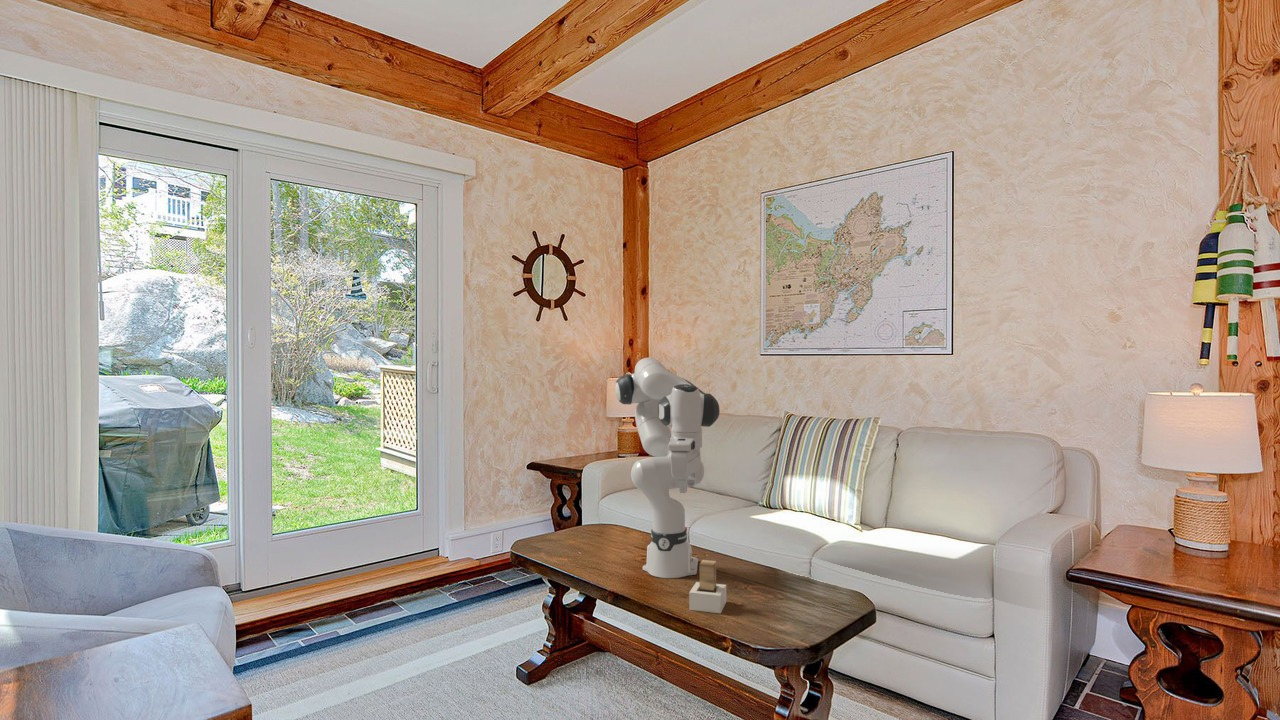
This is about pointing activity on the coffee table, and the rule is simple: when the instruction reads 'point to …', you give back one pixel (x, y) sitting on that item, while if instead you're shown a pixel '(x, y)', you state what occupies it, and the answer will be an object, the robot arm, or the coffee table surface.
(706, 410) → the robot arm
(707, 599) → the socket board
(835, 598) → the coffee table surface
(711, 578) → the oak peg
